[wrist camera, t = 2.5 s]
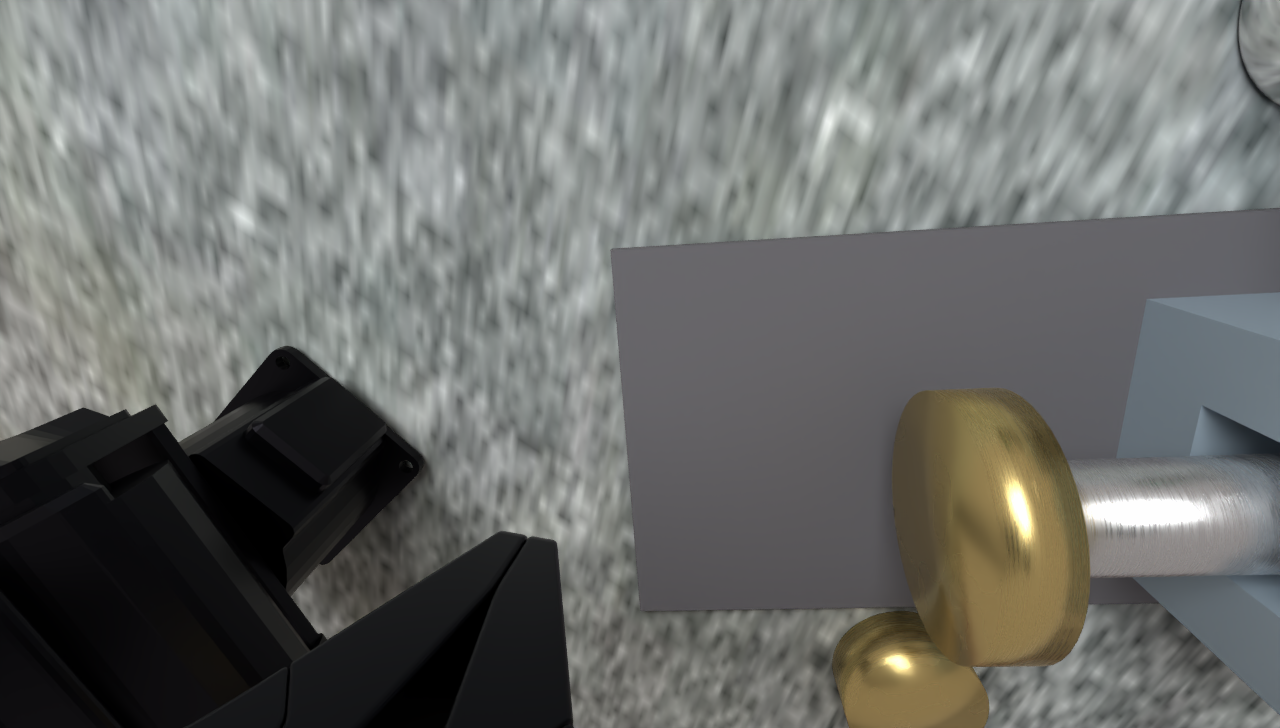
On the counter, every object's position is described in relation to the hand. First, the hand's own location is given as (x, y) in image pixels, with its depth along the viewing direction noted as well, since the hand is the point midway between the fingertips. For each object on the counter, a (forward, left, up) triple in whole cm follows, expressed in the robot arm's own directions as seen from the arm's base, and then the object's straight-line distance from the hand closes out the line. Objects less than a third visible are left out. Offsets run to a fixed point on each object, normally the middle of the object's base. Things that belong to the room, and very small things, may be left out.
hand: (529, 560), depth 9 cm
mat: (+6, -11, -13) cm, 18 cm away
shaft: (+9, -14, -11) cm, 20 cm away
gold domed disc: (-2, -18, -13) cm, 22 cm away
